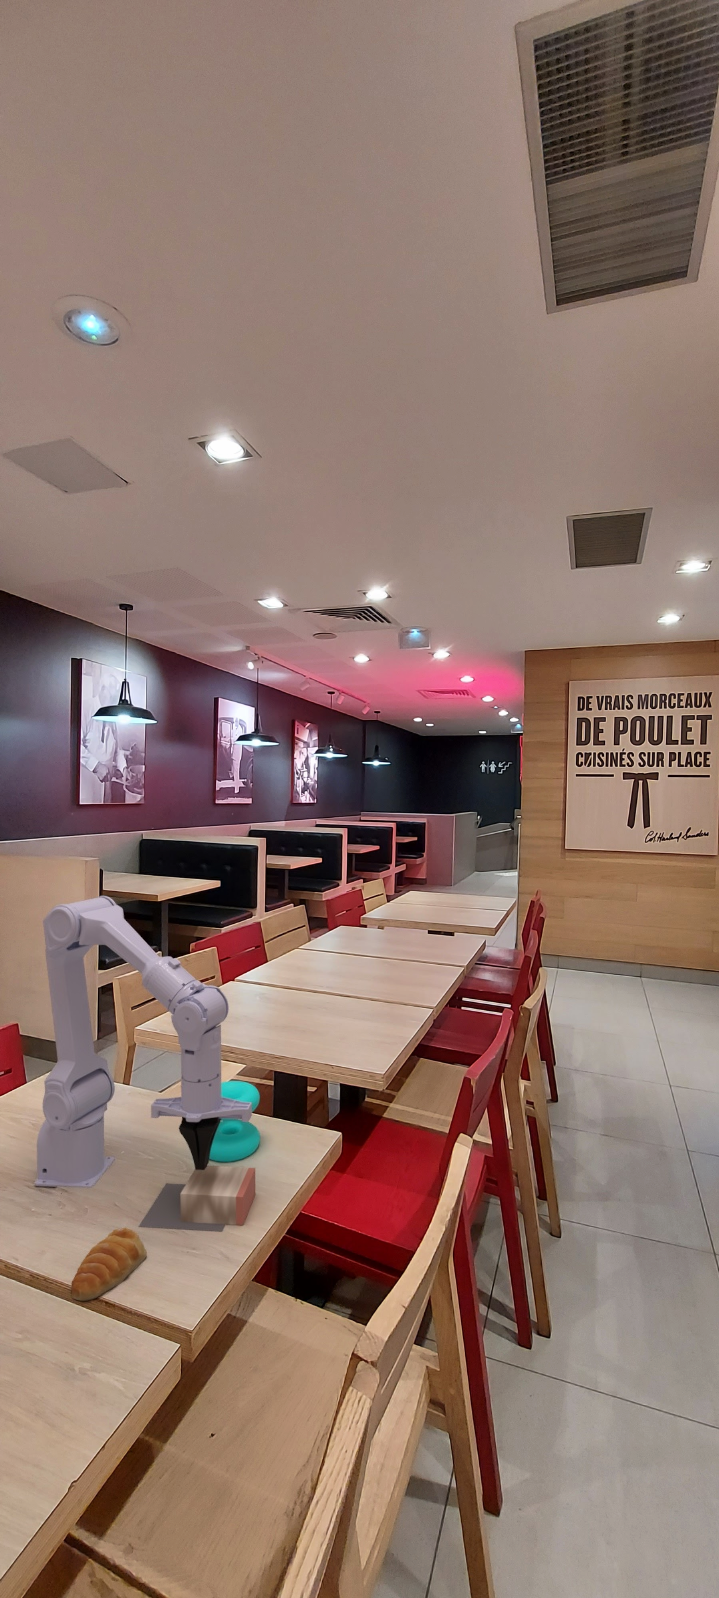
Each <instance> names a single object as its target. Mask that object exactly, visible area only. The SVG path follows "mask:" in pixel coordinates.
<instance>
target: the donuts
mask: <svg viewBox="0 0 719 1598" xmlns="http://www.w3.org/2000/svg"><path fill="white" fill-rule="evenodd" d="M221 1097H225V1098H229V1099H233V1100H237V1101H242V1102H251V1103H252V1113H253V1112H254V1111H255V1110H256V1109H257V1107H258V1106H259V1104H260V1099H261V1096H260V1092H259V1090H258V1089H257V1087H256V1086H255V1085H253V1084H251V1083H249V1082H247V1081H246V1082H245V1081H242V1080H229V1081H223V1082H221ZM260 1134H261V1133H260V1131H259V1129H258V1127H256V1125H254V1124H253V1123H252V1122H250V1121H249V1122H242V1119H221V1121H220V1124H219V1126H218V1128H217V1131H216V1134H215V1136H214V1139H213V1143H212V1147H211V1151H210V1156H209V1160H211V1161H215V1162H218V1163H219V1162H222V1163H223V1162H224V1163H228V1162H235V1161H240V1160H242V1159H245V1158H247V1157H249V1156H250V1155H252V1154H253V1153H254V1152H255V1151H256V1150H257V1149H258V1147H259V1146H260V1145H259V1144H260V1141H261V1135H260Z"/></svg>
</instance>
